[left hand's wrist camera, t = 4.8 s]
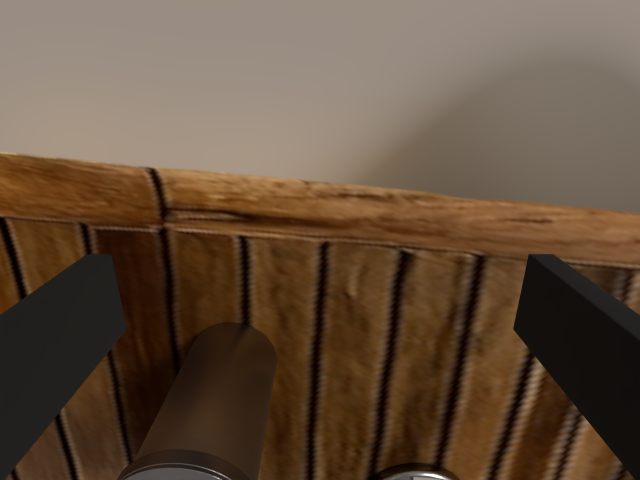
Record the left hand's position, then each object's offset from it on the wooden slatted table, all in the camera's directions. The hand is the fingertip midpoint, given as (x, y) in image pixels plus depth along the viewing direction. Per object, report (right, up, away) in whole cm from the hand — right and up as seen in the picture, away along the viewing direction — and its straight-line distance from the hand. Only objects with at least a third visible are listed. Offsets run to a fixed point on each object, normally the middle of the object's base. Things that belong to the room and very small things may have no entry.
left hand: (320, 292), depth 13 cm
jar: (-10, -13, +35) cm, 39 cm away
